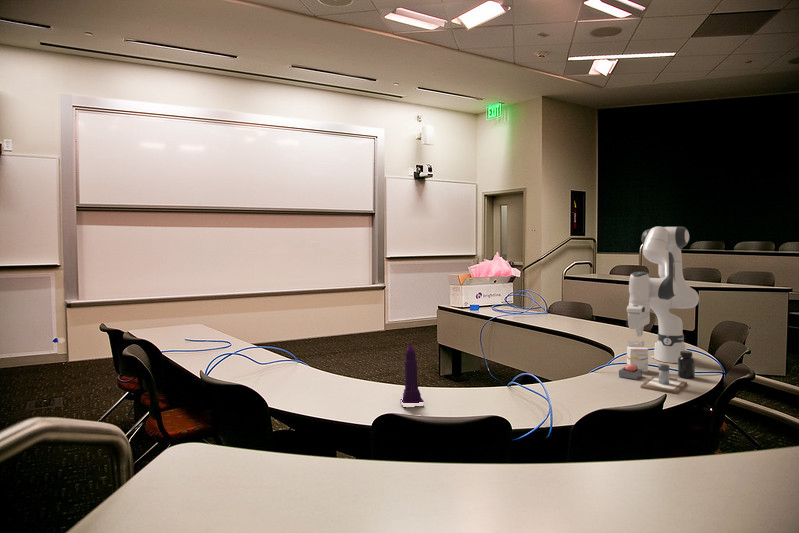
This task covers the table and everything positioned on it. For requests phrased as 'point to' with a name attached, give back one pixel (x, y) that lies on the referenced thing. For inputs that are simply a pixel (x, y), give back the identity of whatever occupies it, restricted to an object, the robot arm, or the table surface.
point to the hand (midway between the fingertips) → (639, 336)
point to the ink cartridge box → (637, 355)
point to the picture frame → (664, 385)
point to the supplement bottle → (686, 365)
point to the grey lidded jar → (663, 374)
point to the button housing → (630, 374)
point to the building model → (411, 378)
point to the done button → (630, 368)
